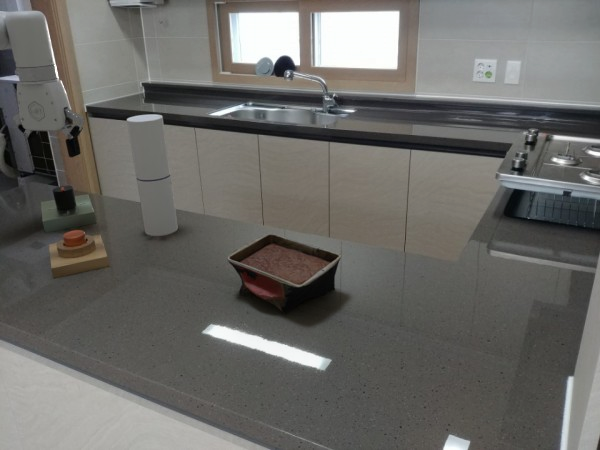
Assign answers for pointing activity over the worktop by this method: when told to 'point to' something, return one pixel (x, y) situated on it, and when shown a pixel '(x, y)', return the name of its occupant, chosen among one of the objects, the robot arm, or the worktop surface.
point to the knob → (64, 197)
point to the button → (74, 238)
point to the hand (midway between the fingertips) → (56, 154)
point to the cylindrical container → (153, 174)
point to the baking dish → (284, 270)
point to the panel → (67, 215)
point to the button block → (78, 257)
